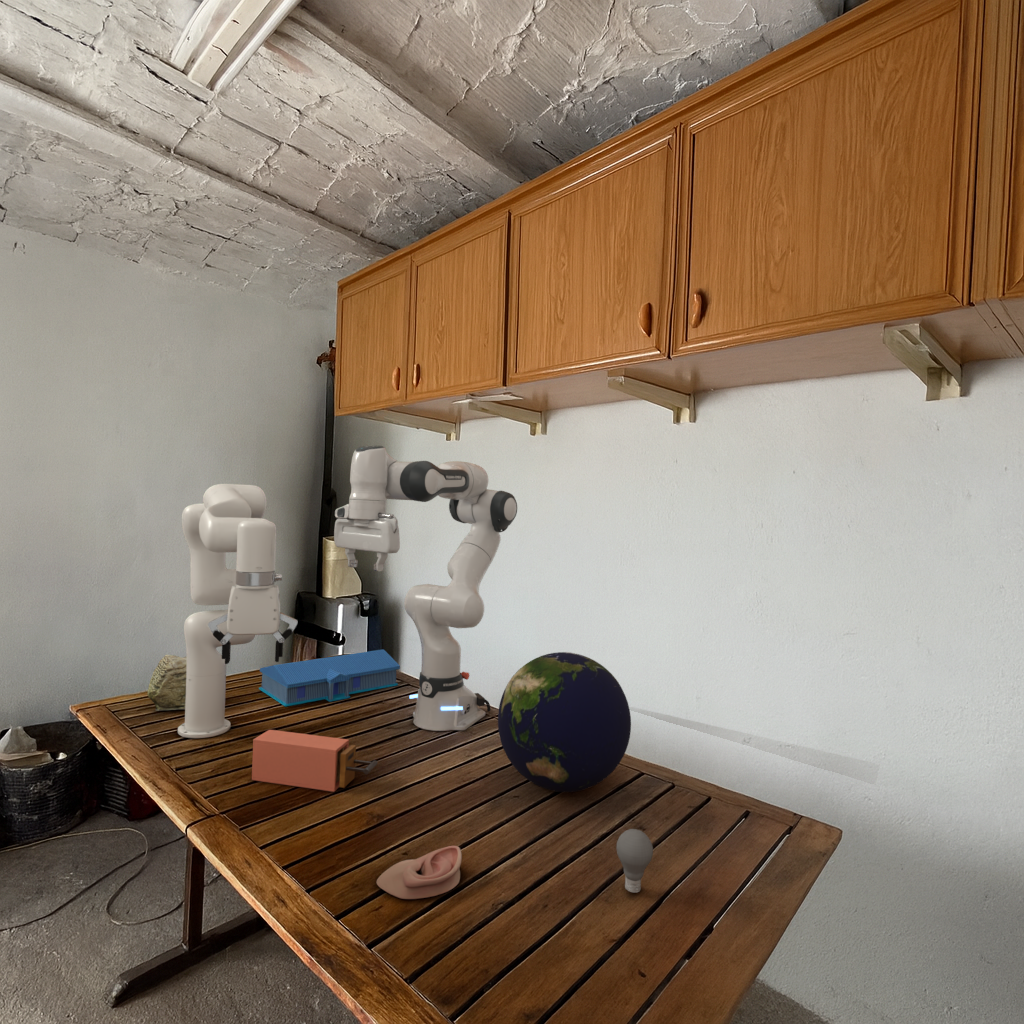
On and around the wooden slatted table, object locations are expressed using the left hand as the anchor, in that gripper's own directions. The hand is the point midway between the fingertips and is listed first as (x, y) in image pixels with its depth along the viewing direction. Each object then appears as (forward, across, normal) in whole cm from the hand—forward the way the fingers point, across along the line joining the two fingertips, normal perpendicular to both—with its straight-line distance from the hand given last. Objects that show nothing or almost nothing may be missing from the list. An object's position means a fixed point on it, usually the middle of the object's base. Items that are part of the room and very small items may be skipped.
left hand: (252, 661), depth 132 cm
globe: (+29, -66, +10) cm, 73 cm away
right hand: (-18, -24, -15) cm, 33 cm away
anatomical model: (+29, -30, +38) cm, 56 cm away
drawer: (+28, -15, -3) cm, 31 cm away
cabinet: (+28, -10, -6) cm, 31 cm away
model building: (+28, -20, -73) cm, 80 cm away
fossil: (+28, +22, -63) cm, 72 cm away
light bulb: (+29, -63, +49) cm, 85 cm away
